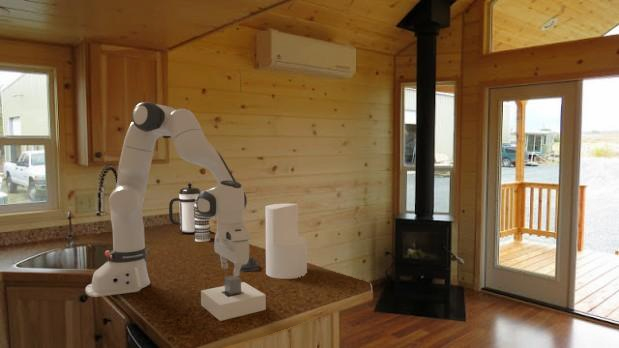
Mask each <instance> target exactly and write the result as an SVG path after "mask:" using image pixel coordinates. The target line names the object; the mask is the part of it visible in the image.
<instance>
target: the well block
mask: <svg viewBox="0 0 619 348" xmlns="http://www.w3.org/2000/svg"><path fill="white" fill-rule="evenodd" d="M266 295H267V294H265V293H263V292H262V291H260V290H258V289H257V288H255V287H253V286H251V285H250V284H248V283H246V282H244V281H243V282H242V281H241V294H240V295H236V296H231V297H227V296H226V295H225V285H222V286H217V287H212V288H207V289H202V290H200V302H201V303H200V304H201V306H202V307H203V308H204V309H205V310H206V311H208V312H209V313H210V314H211V315H212V316H213V317H215V318H216V319H217V320H218V321H220V322H222V321H225V320H229V319H233V318H238V317H242V316H245V315H246V316H247V315H251V314H253V313H257V312H258V313H259V312H262V311H266V310H267V306H266V304H267V301H266V300H267V299H266Z"/></svg>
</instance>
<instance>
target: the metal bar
mask: <svg viewBox="0 0 619 348" xmlns="http://www.w3.org/2000/svg"><path fill="white" fill-rule="evenodd" d="M241 282H242V278H241V277H239V276H234V275H231V276H225V277H224V286H225V295H226V296H227V297H231V296H236V295H240V294H241Z"/></svg>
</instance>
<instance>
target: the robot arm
mask: <svg viewBox="0 0 619 348" xmlns="http://www.w3.org/2000/svg"><path fill="white" fill-rule="evenodd" d="M131 116H132V117H131V119H132V122H131V123H130V125H129V126H128V130H127V131H126V134H125V137H124V140H123V145H122V148H121V149H122V150H121V154H120V156H119V157H120V159H119V163H118V170H117V172H118V173H117V179H116V185H115V189H113V191H112V192H111V193H110V194H109V198H108V205H109V213H110V220H111V221H110V222H111V228H112V240H113V241H112V246H113V249H112V250H105V252H104V255H105V256H106V257H107V260H108V261H106V262H105V263H104V264H103V265H102V266H100V267H99V268H98V269H96V270H95V271H94V273H93V275H92V280H91V283H90V284H88V285H86V287H85V290H84V291H85V294H86V295H87V296H89V297H94V298H97V297H98V298H99V297H105V296H106V297H107V296H116V295H121V294H131V293H137V292H140V291H141V290H142V289H143V288H146V287H148V286H149V285H150V284H151V281H150V278H149V273H148V269H147V248H146V247H145V226H144V219H143V204H144V201H145V197H146V193H147V189H148V188H147V187H148V182H149V175H150V170H151V166H152V162H153V158H154V157H153V156H154V152H155V147H156V142H157V140H158V139H159V138H161V137H162V138H164V139H169V138H171V140H172V144H173V146H174V150H175V151H176V153H177V154H178V156H179V157H180V159H181V160H183V161H186V162H187V163H191V164H194V165H197V166H200V167H203V168H205V169H206V170H208V171H209V172H211V174H212V175H213V177H214V179H215V180H216V182H217V183H218V184H217V185H215V186H213V187H211V188H209V189H205V190H201V193H200V194H199V195H198V197H197V201H196V206H197V210H198V212H199V214H200V215H201V216H203V217H206V218H210V219H211V218H212V219H213V218H216V232H215V234H214V245H213V247H214V248H213V249H214V253H215V254H216V253H217V255H219V259H220V264H221V269H224V270H227V269H228V268H229V262H228V261H230V262H232V263H233V266H234V267H233V269H232V276H237V277H239V276H240V273H241V271H240V269H241V266H242V265H245V264H247V263H248V261H249V255H250V242H249V240H251V233H250V231H249V230H248V229H247V227H246V225H245V217H244V211H245V209H246V207H247V203H248V199H247V195H246V192H245V191H244V188H243V187H244V186H243V184H241V183H240V182H239V181H236V179H235V178H234V175H233V174H232V172H231V170H230V168H229V167H228V165H227V163H226V161H225V160H224V157H223V156H222V155H221V154H220V152H219V151H218V150H217V149H216V148H215V147H213V145H212V144H211V143H210V142H209V141H208V139H207V137H206V136H205V134H204V131H203V128H202V126H201V124H200V122H199V121H198V119H197V117H196V116H195V115H194V113H193V112H192V111H191V110H189V109H187V108H178V109H175V108H173V107H171V106H168V105H166V104H165V105H162V104H157V103H154V102H151V101H143V102H139V103H138V104H137V105H136V106H135V107H134V109H133V112H132V115H131Z"/></svg>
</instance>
